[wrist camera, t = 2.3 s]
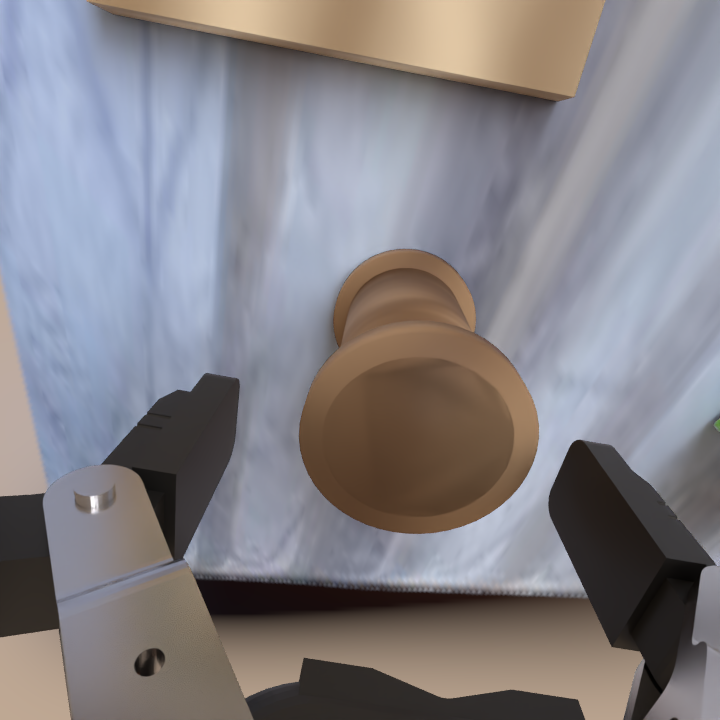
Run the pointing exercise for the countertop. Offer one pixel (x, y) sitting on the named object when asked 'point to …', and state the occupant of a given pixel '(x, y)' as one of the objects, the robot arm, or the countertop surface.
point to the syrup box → (717, 424)
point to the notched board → (409, 34)
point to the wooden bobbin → (415, 403)
